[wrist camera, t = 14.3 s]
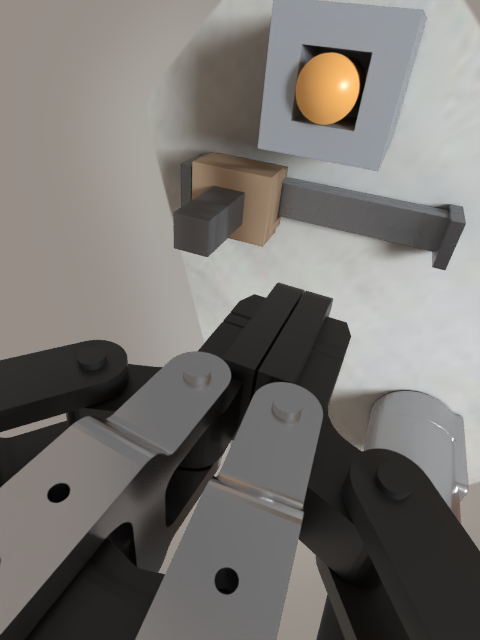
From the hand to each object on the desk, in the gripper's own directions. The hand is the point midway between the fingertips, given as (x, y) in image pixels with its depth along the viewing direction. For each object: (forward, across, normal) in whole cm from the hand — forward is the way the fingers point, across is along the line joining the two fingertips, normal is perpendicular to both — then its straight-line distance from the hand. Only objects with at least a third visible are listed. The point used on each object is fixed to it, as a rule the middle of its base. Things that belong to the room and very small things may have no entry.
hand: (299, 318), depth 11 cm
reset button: (+23, +4, -4) cm, 24 cm away
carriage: (+28, +12, +6) cm, 31 cm away
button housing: (+28, +4, -4) cm, 29 cm away
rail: (+28, +5, +6) cm, 29 cm away
